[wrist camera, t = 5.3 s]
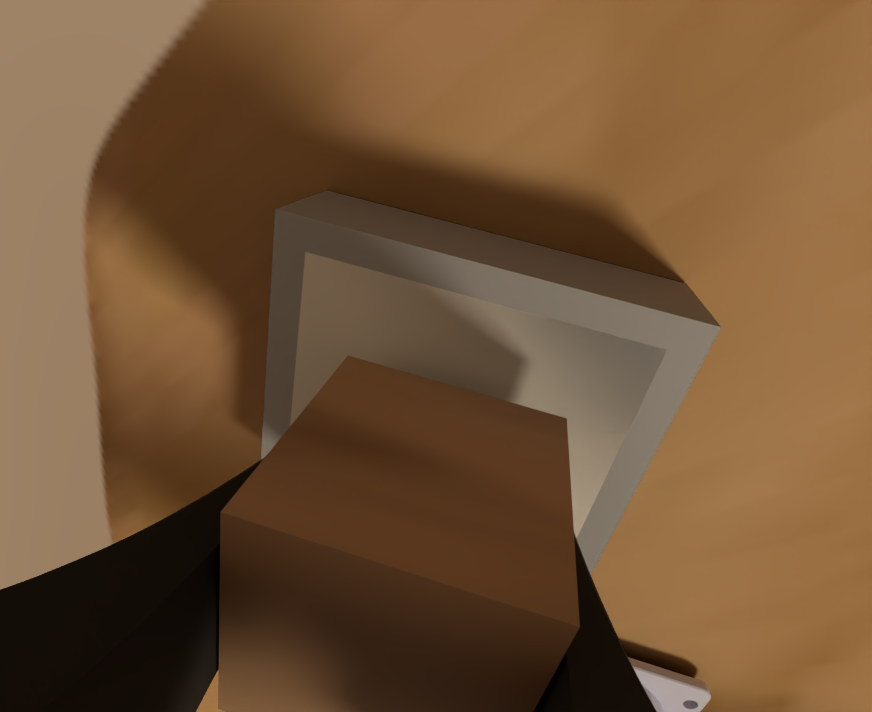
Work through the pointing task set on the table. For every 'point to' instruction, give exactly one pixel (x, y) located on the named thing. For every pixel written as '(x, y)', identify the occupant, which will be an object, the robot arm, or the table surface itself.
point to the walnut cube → (399, 554)
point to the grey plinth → (486, 333)
